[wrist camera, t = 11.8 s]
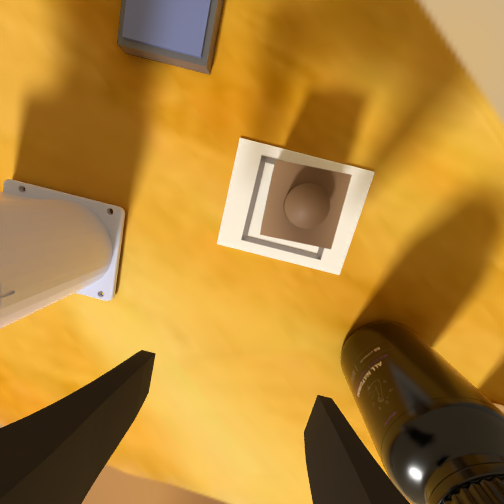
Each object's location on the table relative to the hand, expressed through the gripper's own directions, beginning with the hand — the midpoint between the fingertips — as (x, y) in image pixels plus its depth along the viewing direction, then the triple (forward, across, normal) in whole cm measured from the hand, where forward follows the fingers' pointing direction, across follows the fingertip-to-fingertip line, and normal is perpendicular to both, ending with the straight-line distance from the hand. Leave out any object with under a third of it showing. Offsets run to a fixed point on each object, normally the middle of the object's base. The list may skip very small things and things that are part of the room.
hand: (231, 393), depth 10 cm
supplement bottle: (+10, -12, +2) cm, 16 cm away
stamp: (+10, -2, -8) cm, 13 cm away
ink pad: (+10, +10, -18) cm, 23 cm away
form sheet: (+10, -2, -8) cm, 13 cm away
